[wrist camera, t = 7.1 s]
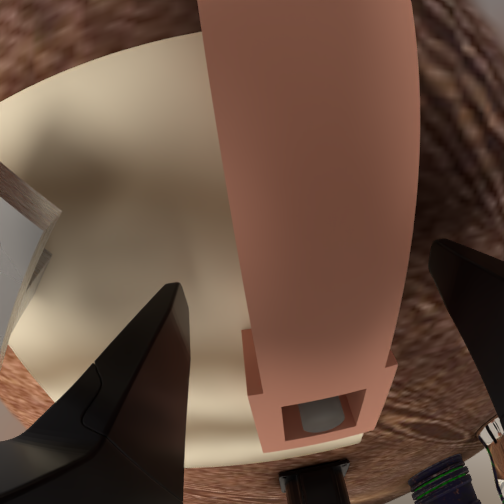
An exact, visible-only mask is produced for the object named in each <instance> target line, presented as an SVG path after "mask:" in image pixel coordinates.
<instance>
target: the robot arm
mask: <svg viewBox="0 0 504 504" xmlns="http://www.w3.org/2000/svg"><path fill="white" fill-rule="evenodd" d="M428 267H429V271H430V273H431V275H432V277H433V280H434V282H435V284H436V286H437V288H438V290H439V293H440V295H441V297H442V299H443V302H444V304H445V306H446V308H447V310H448V312H449V314H450V316H451V318H452V319H453V321H454V323H455V325H456V327H457V329H458V331H459V332H460V334H461V336H462V338H463V340H464V342H465V344H466V346H467V348H468V350H469V352H470V354H471V356H472V358H473V360H474V362H475V364H476V366H477V369H478V371H479V373H480V375H481V377H482V379H483V382H484V384H485V386H486V388H487V391H488V393H489V395H490V398H491V400H492V403H493V405H494V407H495V410H496V412H497V415H498V418H499V419H500V423H501V426H502V429H503V431H504V261H502V260H499V259H497V258H494V257H492V256H489V255H487V254H484V253H482V252H479V251H477V250H474V249H471V248H469V247H466V246H464V245H461V244H458V243H456V242H453V241H450V240H448V239H439V240H435V241H433V243H432V246H431V252H430V257H429V262H428ZM94 363H95V364H94ZM94 363H92V364H91V365H90V366H89V368H88V369H87V370H86V371H85V372H84V373H83V374H82V375H81V377H80V378H79V379H78V380H77V381H76V382H75V383H74V384H73V385H72V386H71V387H70V388H69V389H68V390H67V391H66V392H65V393H64V394H63V395H62V396H61V397H60V398H59V399H58V400H57V401H56V402H55V403H54V404H53V405H52V406H51V407H50V408H49V409H48V410H47V411H46V412H45V413H44V414H43V415H42V416H41V417H40V418H39V419H38V420H37V421H36V422H35V423H34V424H33V425H32V426H31V427H30V428H28V429H27V430H26V431H25V432H24V433H22V434H21V435H19V436H17V437H15V438H13V439H10V440H6V441H1V442H0V504H183V502H182V501H183V485H184V458H185V438H186V420H187V405H188V391H189V377H190V364H191V350H190V323H189V307H188V304H187V300H186V297H185V294H184V291H183V288H182V285H181V283H180V282H173V283H167V284H165V285H164V286H163V287H162V288H161V289H160V290H159V291H158V292H157V293H156V294H155V295H154V296H153V297H152V298H151V299H150V301H149V302H148V303H147V304H146V305H145V306H144V307H143V308H142V309H141V310H140V311H139V312H138V313H137V315H136V316H135V317H134V318H133V319H132V320H131V321H130V322H129V323H128V324H127V325H126V327H125V328H124V329H123V330H122V331H121V332H120V333H119V334H118V335H117V336H116V338H115V339H114V340H113V341H112V342H111V343H110V344H109V345H108V346H107V348H106V349H105V350H104V351H103V352H102V353H101V354H100V355H99V356H98V358H97V359H96V360H95V361H94ZM349 465H350V463H349V460H343V461H339V462H334V463H330V464H326V465H321V466H316V467H311V468H306V469H301V470H295V471H289V472H283V473H280V474H279V481H280V486H281V490H282V492H283V493H286V497H287V503H288V504H350V500H349V496H348V492H347V488H346V484H345V480H344V477H345V474H346V472H347V470H348V467H349Z"/></svg>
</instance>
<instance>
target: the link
mask: <svg viewBox="0 0 504 504" xmlns="http://www.w3.org/2000/svg"><path fill="white" fill-rule="evenodd" d="M197 3H198V10H199V16H200V23H201V30H202V37H203V43H204V50H205V57H206V63H207V70H208V76H209V83H210V89H211V95H212V102H213V108H214V114H215V120H216V127H217V133H218V139H219V145H220V151H221V157H222V163H223V170H224V176H225V182H226V187H227V193H228V199H229V205H230V211H231V217H232V223H233V229H234V234H235V240H236V246H237V252H238V257H239V263H240V269H241V274H242V280H243V286H244V291H245V297H246V302H247V308H248V313H249V319H250V324H251V329H245V330H241V333H242V344H243V355H244V366H245V376H246V387H247V396H248V400H249V404H250V407H251V411H252V415H253V418H254V422H255V426H256V429H257V433H258V437H259V440H260V444H261V447H262V451H263V453H269V452H276V451H282V450H288V449H294V448H300V447H305V446H310V445H315V444H320V443H324V442H329V441H333V440H338V439H342V438H346V437H350V436H354V435H357V434H361V433H365V432H368V431H372V430H374V428H375V426H376V424H377V421H378V419H379V416H380V414H381V411H382V409H383V406H384V403H385V401H386V398H387V395H388V393H389V390H390V387H391V384H392V381H393V378H394V375H395V372H396V369H397V366H398V363H397V361H396V359H395V357H394V355H393V353H392V351H391V349H390V347H391V343H392V339H393V335H394V331H395V327H396V323H397V319H398V314H399V309H400V305H401V300H402V295H403V290H404V285H405V279H406V274H407V268H408V262H409V255H410V249H411V242H412V234H413V227H414V218H415V209H416V199H417V187H418V173H419V153H420V87H419V68H418V54H417V43H416V34H415V25H414V18H413V11H412V4H411V0H197ZM334 396H339V399H340V403H341V406H342V409H343V412H344V415H345V419H344V421H343V422H342V423H341V424H340V425H338V426H337V427H335V428H333V429H330V430H327V431H324V432H318V433H311V432H307V431H305V430H304V429H303V426H302V421H301V416H300V412H299V407H298V404H300V403H305V402H311V401H316V400H320V399H325V398H330V397H334Z"/></svg>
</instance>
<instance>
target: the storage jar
mask: <svg viewBox="0 0 504 504" xmlns="http://www.w3.org/2000/svg"><path fill="white" fill-rule="evenodd" d="M464 465H465V463H464V462H463V461H462V456H461V454H457V455H453V456H451V457H449V458H446V459H444V460H442V461H440V462H438V463H436V464H434V465H432V466H430V467H428V468H427V469H425V470H423V471H421V472H420V473H418V474H416V475H415V476H413V477H412V478H411V479H409V481H408V484H409V485H410V486H411V492H414V493H413V494H412V498H413V500H416V501H415V504H481V502H480V500H478V499H477V496H476V494H475V491H474V489H473V486H472V484H471V481H472V479H471V476H470V474H467V473H468V472H469V471H468V468H467V467H466V466H465V467H463V466H464ZM466 474H467V475H466Z"/></svg>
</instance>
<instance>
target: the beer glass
mask: <svg viewBox="0 0 504 504" xmlns="http://www.w3.org/2000/svg"><path fill="white" fill-rule="evenodd" d="M476 436H477V438H478V439H479V441H480V442H481V443H482V444H483V446H484V447H485V449H486V451H487V453H488V455H489V458H490V462H491V467H492V471H493V476H494V481H495V484H496V489H497V492H498V495H499V498H500V500H501V502H502V504H504V431H503V429H502V426H501V423H500V419H499V418H498V415H496V416H494V417H493V418H492V419H490V420H489V421H488V422H487V423H485V424H484V425H483V426H482V427H481V428H480V429H479V430H478V431H477V433H476Z"/></svg>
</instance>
